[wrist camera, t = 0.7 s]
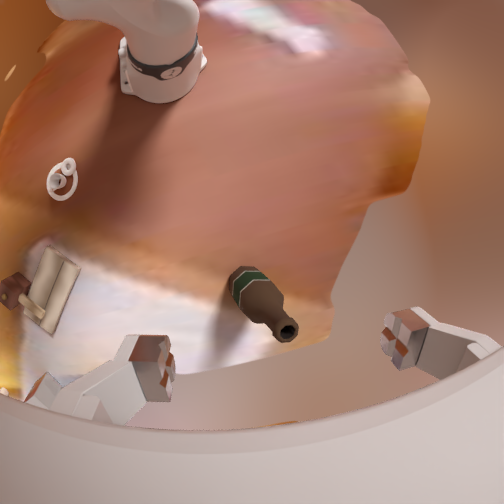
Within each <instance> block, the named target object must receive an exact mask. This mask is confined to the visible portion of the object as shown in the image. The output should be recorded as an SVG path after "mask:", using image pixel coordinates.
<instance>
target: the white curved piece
mask: <svg viewBox="0 0 504 504" xmlns="http://www.w3.org/2000/svg"><path fill="white" fill-rule="evenodd" d="M59 168H61V171H62V173H63V174H64V175H66V176H70V175H72V174H73V178H74V181H73V186H72V188H71V190H70V191H69V192H68V193H67V194H65V195H62V196H59V195H56V194H55V193H54V191H55V190H56V189H60V188H62V187H64V186H65V184H66V178H65V177H64V176H63V175H61V174H59V173H54V172H55V171H56V170H58V169H59ZM67 168H68V169H69V170H67ZM60 179H61V183H60V185H59V180H60ZM77 183H78V175H77V171H76V163H75V161H74V159H72V158H66V159H65V160H64V161H63V162H62V163H59V164H57V165H56V166H54V167H53V168H52V170H51V171H50V173H49V175H48V178H47V190H48V193H49V194H50V196H51V197H52V198H53V199H55V200H58V201H63V200H66V199H68V198H69V197H70V196H71V195H72V194H73V193H74V191H75V189H76V187H77ZM52 189H53V190H52Z"/></svg>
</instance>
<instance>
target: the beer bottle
mask: <svg viewBox="0 0 504 504" xmlns="http://www.w3.org/2000/svg"><path fill="white" fill-rule="evenodd" d="M229 290H230V293H231V294H232V296H233V298H234V300H235V301H236V303H237V305H238V306H239V308H240V309H241V311H242V312H243V313H244V314H245V315H246V316H247V317H248V318H249V319H250V320H251V321H252V322H253V323H257V324H258V323H265V324H266V325H267V326H268V327H269V328H270V329H271V331H272V332H273V336H274V337H275V338H276V339H277V340H278V341H279V342H281V343H284V342H291V341H292V340H293V339H294V338H295V337H296V336H297V335H298V329H299V327H298V324H297V323H296V322H295V320H294V319H293V318H290V317H289V316H288V315H287V314H286V312H285V311H284V310H283V301H284V297H283V294H282V293H281V292H280V291H279V290H278V289H277V287H276V286H275V285H274V284H273V283H272V282H271V281H270V280H269V279H268V278H267V277H266V276H265V275H264V274H262V273H261V272H260V271H259V270H258V269H257V268H255V267H245V266H240V267H239V268H238V269H237V270H236V271H235V272H234V273H233V274H231V275H230V283H229Z"/></svg>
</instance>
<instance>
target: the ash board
mask: <svg viewBox="0 0 504 504" xmlns="http://www.w3.org/2000/svg"><path fill="white" fill-rule="evenodd" d="M80 270H81V268H80V267H78V266H77V265H76V264H74V263H73V262H71V261H70V260H69V259H67V258H66V257H65V256H63V255H62V254H61V253H60V252H58V251H57V250H56V249H54V248H53V247H52V246H51V245H49V246H47V247H46V248H45V251H44V253H43V256H42V258H41V261H40V263H39V266H38V268H37V271H36V274H35V277H34V279H33V282H32V285H31V288H30V291H29V294H28V298H30V299H31V300H32V301H33V302H35V303H36V304H37V305H38V306H40V307H41V308H42V309H45V314H44V317H43V318H42V319H40V318H38V317H37V316H36V315H35V314H33V313H32V312H31V311H30V310H28V309H27V308H26V307H24V311H23V313H24V314H25V315H26V316H28V317H29V318H30V319H31V320H33V321H34V322H35V323H37V324H38V325H39V326H40V327H42V328H43V329H44V330H46V331H47V332H49V333H50V334H51V335H52V334H53V333H54V331H55V329H56V326H57V324H58V321H59V318H60V316H61V313H62V311H63V308H64V306H65V303H66V301H67V298H68V296H69V294H70V291H71V289H72V287H73V285H74V282H75V280H76V278H77V276H78V274H79V272H80Z"/></svg>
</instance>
